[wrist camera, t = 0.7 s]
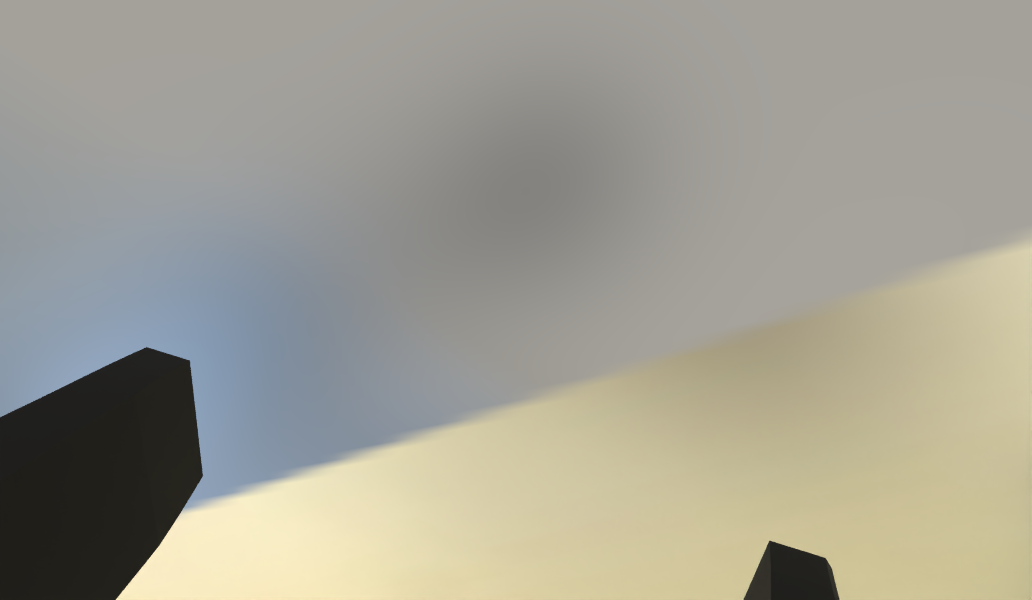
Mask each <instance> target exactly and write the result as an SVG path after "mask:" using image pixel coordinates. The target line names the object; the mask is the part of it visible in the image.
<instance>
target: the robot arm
mask: <svg viewBox="0 0 1032 600" xmlns="http://www.w3.org/2000/svg"><path fill="white" fill-rule="evenodd" d="M202 476H203V474H202V464H201V456H200V447H199V438H198V429H197V420H196V412H195V403H194V394H193V385H192V376H191V368H190V361H189V360H186V359H183V358H180V357H176V356H173V355H170V354H166V353H164V352H160V351H157V350H154V349H151V348H147V347H146V348H144V349H142V350H140V351H137V352H135V353H133V354H131V355H128V356H126V357H124V358H122V359H120V360H118V361H116V362H113V363H111V364H109V365H107V366H105V367H103V368H101V369H99V370H97V371H95V372H93V373H91V374H89V375H87V376H84V377H83V378H80V379H78V380H76V381H74V382H72V383H70V384H68V385H66V386H64V387H62V388H60V389H58V390H56V391H54V392H52V393H50V394H48V395H46V396H44V397H42V398H40V399H38V400H35V401H33V402H31V403H29V404H27V405H25V406H23V407H21V408H19V409H17V410H15V411H12V412H10V413H8V414H6V415H4V416H2V417H0V600H116V598H117V597H118V596H119V595H120V594H121V592H122V591H123V590H124V589H125V587H126V586H127V585H128V584H129V582H130V581H131V580H132V579H133V578H134V576H135V575H136V574H137V573H138V571H139V570H140V569H141V568H142V566H143V565H144V564H145V563H146V562H147V560H148V559H149V558H150V556H151V555H152V554H153V553H154V551H155V550H156V549H157V548H158V546H159V545H160V544H161V542H162V540H163V539H164V537H165V536H166V534H167V533H168V531H169V530H170V528H171V527H172V525H173V524H174V522H175V521H176V519H177V518H178V516H179V514H180V513H181V511H182V510H183V508H184V506H185V505H186V503H187V501H188V499H189V498H190V496H191V495H192V493H193V491H194V490H195V488H196V486H197V484H198V483H199V482H200V480H201V478H202ZM744 600H839V596H838V592H837V588H836V584H835V580H834V576H833V571H832V568H831V566H830V565H829V563H828V561H827V560H826V558H824V557H820V556H817V555H814V554H811V553H808V552H804V551H801V550H798V549H795V548H791V547H788V546H785V545H782V544H779V543H775V542H772V541H769V543H768V545H767V547H766V550H765V552H764V554H763V557H762V559H761V561H760V563H759V566H758V568H757V570H756V573H755V575H754V577H753V580H752V582H751V584H750V586H749V589H748V591H747V593H746V596H745V598H744Z"/></svg>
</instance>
